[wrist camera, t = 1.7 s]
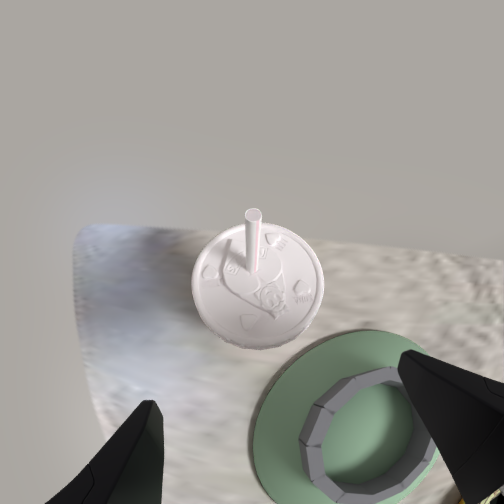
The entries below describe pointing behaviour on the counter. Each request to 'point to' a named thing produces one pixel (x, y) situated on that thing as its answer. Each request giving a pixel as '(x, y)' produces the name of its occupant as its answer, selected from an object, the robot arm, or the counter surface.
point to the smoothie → (257, 284)
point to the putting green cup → (343, 426)
